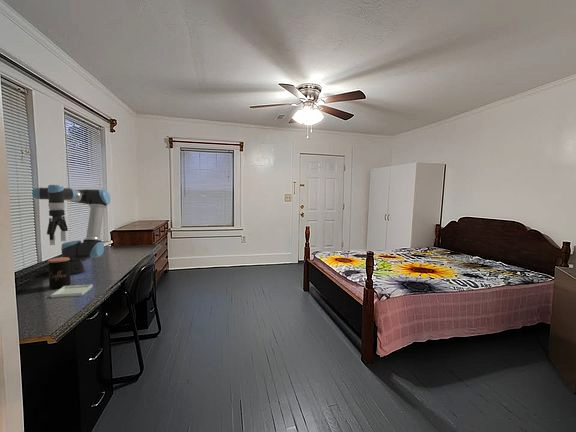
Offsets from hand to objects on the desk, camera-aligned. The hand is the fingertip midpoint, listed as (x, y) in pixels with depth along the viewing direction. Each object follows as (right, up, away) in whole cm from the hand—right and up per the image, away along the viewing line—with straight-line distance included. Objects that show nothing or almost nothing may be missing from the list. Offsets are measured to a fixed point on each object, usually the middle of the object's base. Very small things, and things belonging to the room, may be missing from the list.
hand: (58, 243), depth 177 cm
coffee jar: (-1, -29, +2) cm, 29 cm away
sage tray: (+14, -29, -7) cm, 33 cm away
